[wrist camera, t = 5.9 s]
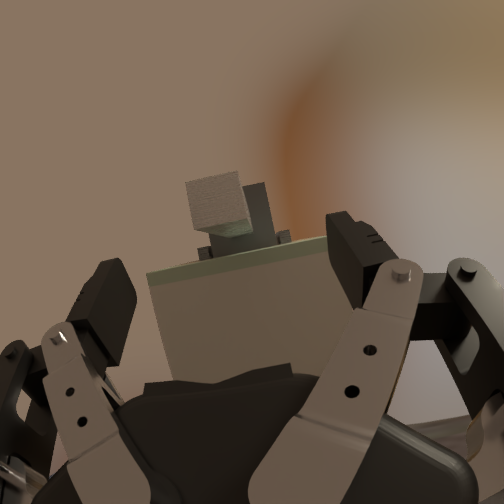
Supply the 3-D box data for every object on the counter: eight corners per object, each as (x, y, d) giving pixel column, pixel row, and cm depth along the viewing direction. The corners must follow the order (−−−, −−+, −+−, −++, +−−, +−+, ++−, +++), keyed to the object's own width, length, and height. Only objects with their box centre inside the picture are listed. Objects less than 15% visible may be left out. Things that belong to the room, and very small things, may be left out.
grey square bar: (301, 245, 13) (270, 108, 12) (157, 274, 13) (136, 140, 13) (273, 245, 37) (263, 195, 37) (223, 255, 37) (213, 205, 37)
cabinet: (366, 526, 22) (335, 217, 21) (240, 548, 22) (142, 257, 22) (338, 453, 38) (303, 228, 37) (246, 470, 38) (189, 252, 38)
